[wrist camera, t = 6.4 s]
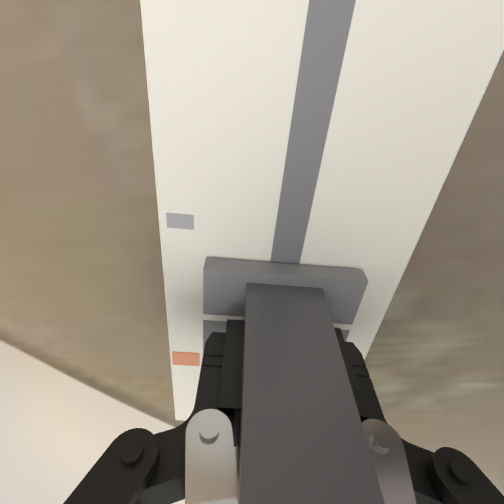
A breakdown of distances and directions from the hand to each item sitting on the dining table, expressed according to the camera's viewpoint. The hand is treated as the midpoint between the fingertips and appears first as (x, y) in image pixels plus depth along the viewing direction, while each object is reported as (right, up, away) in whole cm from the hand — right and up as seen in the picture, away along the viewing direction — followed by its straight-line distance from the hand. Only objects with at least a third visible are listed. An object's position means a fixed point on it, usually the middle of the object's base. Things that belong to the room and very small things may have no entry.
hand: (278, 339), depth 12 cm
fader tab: (0, +1, +1) cm, 2 cm away
